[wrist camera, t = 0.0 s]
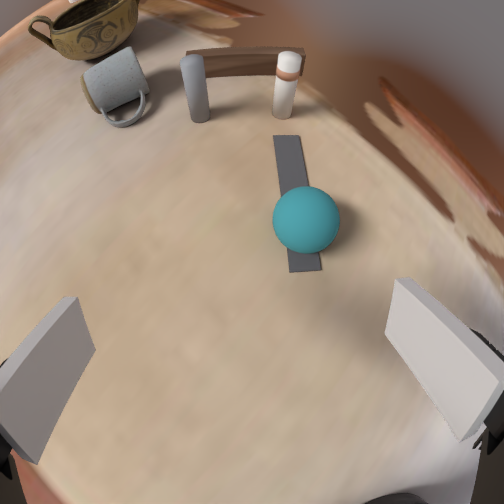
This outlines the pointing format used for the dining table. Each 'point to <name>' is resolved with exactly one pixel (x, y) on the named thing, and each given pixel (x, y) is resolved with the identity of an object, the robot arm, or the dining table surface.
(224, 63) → the backstop
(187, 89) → the grey pin
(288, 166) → the grey flat bar
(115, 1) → the ceramic bowl
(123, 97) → the ceramic mug
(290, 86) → the white pin
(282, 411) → the dining table surface
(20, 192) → the dining table surface
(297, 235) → the ball
